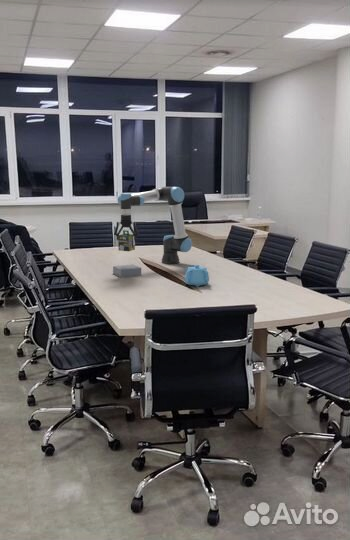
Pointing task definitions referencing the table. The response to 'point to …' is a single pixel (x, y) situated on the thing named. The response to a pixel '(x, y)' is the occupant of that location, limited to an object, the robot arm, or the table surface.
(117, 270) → the grey base brick
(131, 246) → the chalk box
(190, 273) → the decorative pot
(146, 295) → the table surface
